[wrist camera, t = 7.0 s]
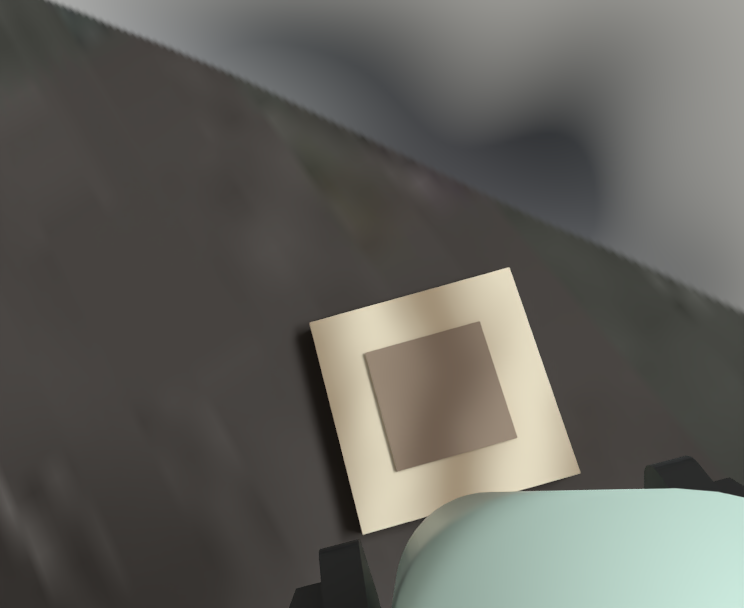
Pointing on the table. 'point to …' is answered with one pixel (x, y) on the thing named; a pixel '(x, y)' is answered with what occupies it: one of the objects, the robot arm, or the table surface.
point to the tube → (577, 551)
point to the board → (440, 399)
